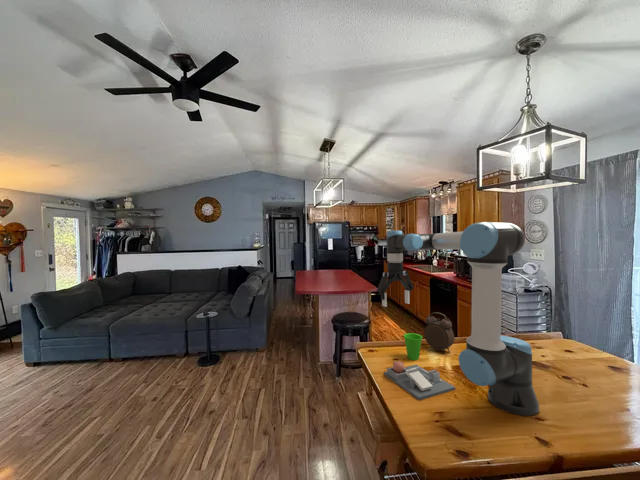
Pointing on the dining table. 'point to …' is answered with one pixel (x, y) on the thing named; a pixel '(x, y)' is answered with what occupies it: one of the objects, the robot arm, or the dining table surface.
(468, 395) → the dining table surface
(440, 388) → the panel
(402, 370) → the round button
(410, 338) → the cup
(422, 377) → the paddle
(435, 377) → the slider knob
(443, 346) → the alarm clock
